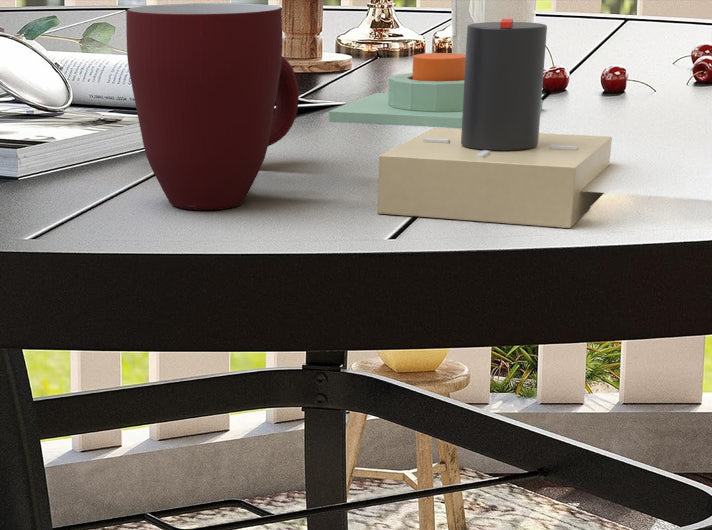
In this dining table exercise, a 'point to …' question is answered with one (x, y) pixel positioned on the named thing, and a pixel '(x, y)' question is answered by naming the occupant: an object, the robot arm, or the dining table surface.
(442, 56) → the button
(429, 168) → the block
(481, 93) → the dial
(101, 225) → the dining table surface
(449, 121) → the kettle base
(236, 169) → the mug
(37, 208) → the dining table surface
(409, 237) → the dining table surface
